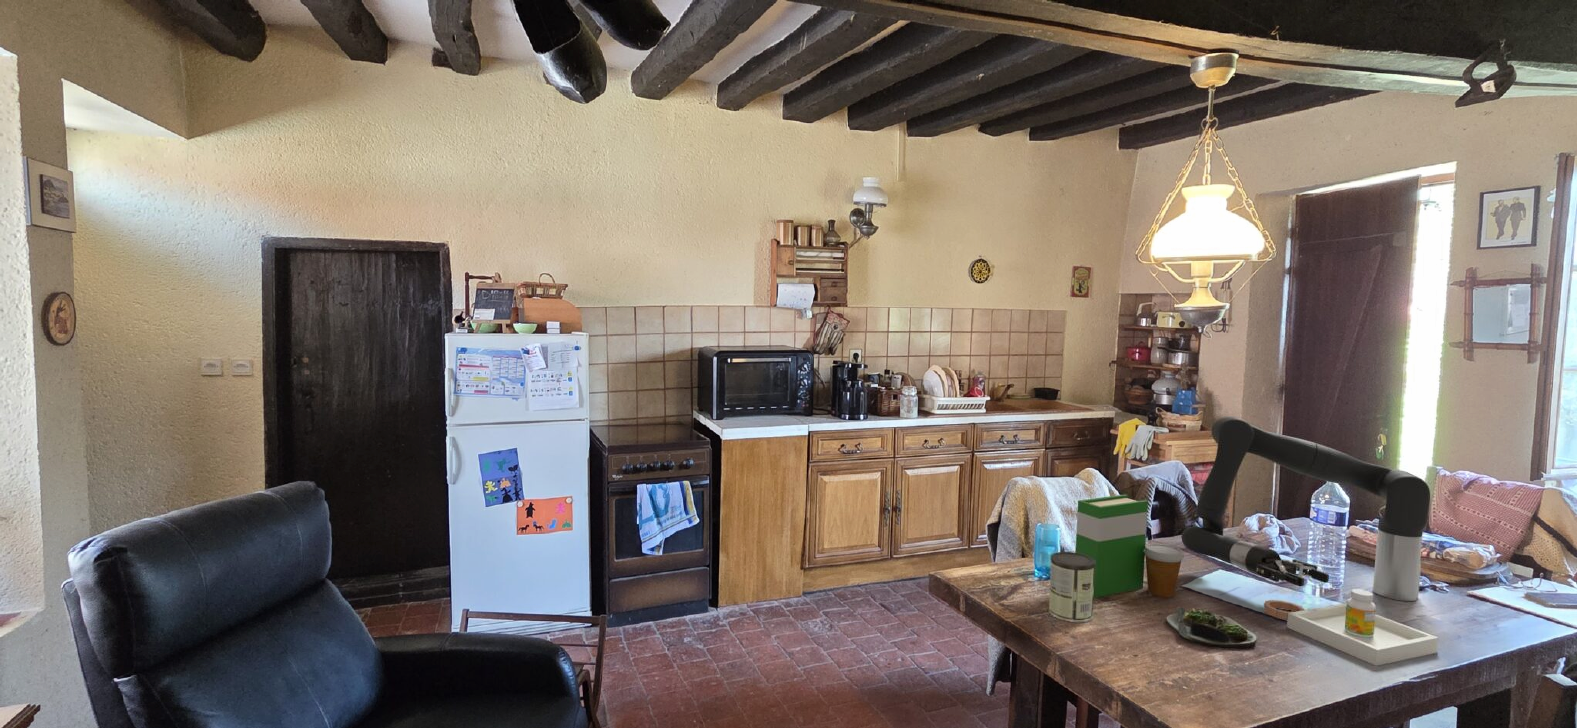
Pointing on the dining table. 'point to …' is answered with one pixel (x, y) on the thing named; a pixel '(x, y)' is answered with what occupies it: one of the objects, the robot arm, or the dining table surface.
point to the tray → (1379, 649)
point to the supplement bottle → (1360, 614)
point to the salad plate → (1211, 629)
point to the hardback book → (1113, 541)
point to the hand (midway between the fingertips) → (1315, 580)
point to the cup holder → (1273, 604)
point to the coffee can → (1071, 587)
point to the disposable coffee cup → (1162, 568)
